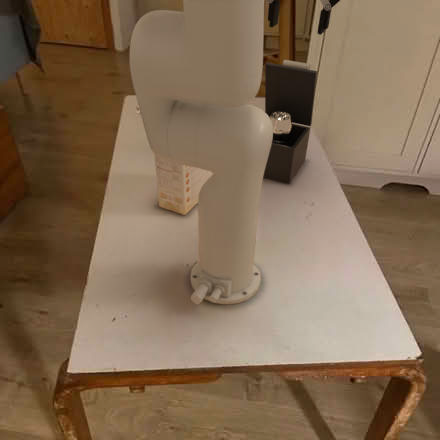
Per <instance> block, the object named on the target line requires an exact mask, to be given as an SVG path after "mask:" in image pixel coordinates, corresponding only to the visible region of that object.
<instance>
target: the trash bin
mask: <svg viewBox="0 0 440 440" xmlns="http://www.w3.org/2000/svg"><path fill="white" fill-rule="evenodd" d="M310 134H311V126H306V125H301V124H297V123H292V133H291V136H290V138H289V139H288V140H287V141H286V142H284V143H280V144H277V143H274V142H272V144H271V149H270V152H269V156H268V160H267V163H266V167H265V171H264V176H263V179H266V180H271V181H275V182H279V183H283V184H287V185H290V184H291V182H292V181H293V179H294V178H295V176H296V175H297V174H298V172H299V170H300V169H301V168H302V166H303V165H304V163H305V162H306V157H307V152H308V147H309V146H308V145H309V139H310Z"/></svg>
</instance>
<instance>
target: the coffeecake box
mask: <svg viewBox="0 0 440 440" xmlns="http://www.w3.org/2000/svg"><path fill="white" fill-rule="evenodd" d="M153 154H154V153H153ZM154 165H155V175H156V186H157V196H158V206H159V208H162V209H164V210H165V209H166V210H168V211H173V212H174V213H177V214H180V215H183V216H186V215H188V213H189V212H190V211H191V210H192V209H193V208H194V207H195V206H196V205H198V196H199V192H200V190H201V188H202V186H203V185H204V183H205V182H206V181H207V180H208V179H209V178H210V177H211V176H212V175H213V174H214V173H213V172H211V171H207V170H203V169H200V168H195V167H190V166H185V165H180V164H175V163H171V162H167V161H164V160H162V159H160V158H158V157H157V156H156V155H155V154H154Z"/></svg>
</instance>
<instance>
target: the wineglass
mask: <svg viewBox="0 0 440 440" xmlns="http://www.w3.org/2000/svg"><path fill="white" fill-rule="evenodd" d="M270 119H271V121H272V125H273V139H272V142H274V143H277V144H280V143H284V142H286V141H287V140H288V139H289V138H290V136H291V133H292V124H293V123H292V119H291V115H290V114H288V113H286V112H274V113H272V114H271V116H270Z"/></svg>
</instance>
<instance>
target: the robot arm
mask: <svg viewBox="0 0 440 440" xmlns="http://www.w3.org/2000/svg"><path fill="white" fill-rule="evenodd" d="M266 1H267V4H268V9H267V21H268V22H269V23H268V24H269V25H268V27H269V28H274V27H275V26H277V25H278V24H279V18H280V17H279V16H280V7H281V1H280V0H266ZM320 2H321V4H322V9H321V10H320V13H319V20H318V28H317V32H316V33H317V34H318V35H320V36H322V34H323V33H325V32H326V30H328V28H329V25H330V20H331V14H332V9H333V8H334V7H335V6H336V5H337V4H338V3H340V2H341V0H320ZM182 6H183V11H178V10H171V9H170V10H169V9H157V10H152V11H149V12H147V13H145V14H143V15H142V16H141V17H140V18H139V20H138V21H137V22H136V24H135V26H134V28H133V29H132V34H131V38H130V43H129V69H130V71H129V72H130V76H131V81H132V86H133V90H134V95H135V97H136V102H137V105H138V109H139V113H140V117H141V120H142V124H143V128H144V131H145V135H146V139H147V142H148V145H149V147H150V149H151V151H152V153H153V154H155V155H156V156H157V157H158V158H160V159H162V160H164V161H167V162H171V163H175V164H180V165H185V166H190V167H195V168H200V169H203V170H207V171H211V172H213V173H214V174H213V175H212V176H211V177H210V178H209V179H208V180H207V181H206V182H205V183H204V185H203V186H202V188H201V190H200V192H199V196H198V203H197V217H198V218H197V222H198V223H197V224H198V228H197V230H198V261H197V262H196V263H195V264H194V265H193V267H192V269H191V271H190V285H191V287H192V289H193V292H192V294H191V295H190V300H191V302H193V303H194V304H196V305H199V304H201V303H202V302H203V300H206V301H208V302H211V303H214V304H219V305H235V304H238V303H242V302H245V301H247V300H249V299H251V297H254V295H255V294H256V293H257V292H258V291H259V289H260V286H261V282H262V281H261V279H262V278H261V277H262V275H261V271H260V270H259V268H258V266H257V265H256V264H255V263H254V262H255V252H256V251H255V250H256V243H257V242H256V241H257V232H258V224H259V223H258V221H259V211H260V203H261V193H262V186H263V181H264V178H263V176H264V171H265V167H266V163H267V160H268V156H269V152H270V149H271V144H272V139H273V125H272V121H271V119H270V117H269V116H268V115H267V114H266V113H265V110H263V109H261V108H260V107H258V106H256V105H253V104H250V103H251V102H252V101H253V100H254V99H255V98H256V96H257V94H258V93H259V90H260V87H261V83H262V78H263V69H264V34H265V33H264V32H265V31H264V29H265V28H264V27H265V23H264V22H265V0H182ZM155 155H154V156H155Z"/></svg>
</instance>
